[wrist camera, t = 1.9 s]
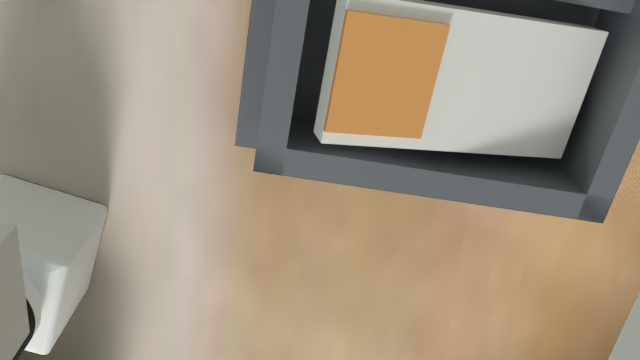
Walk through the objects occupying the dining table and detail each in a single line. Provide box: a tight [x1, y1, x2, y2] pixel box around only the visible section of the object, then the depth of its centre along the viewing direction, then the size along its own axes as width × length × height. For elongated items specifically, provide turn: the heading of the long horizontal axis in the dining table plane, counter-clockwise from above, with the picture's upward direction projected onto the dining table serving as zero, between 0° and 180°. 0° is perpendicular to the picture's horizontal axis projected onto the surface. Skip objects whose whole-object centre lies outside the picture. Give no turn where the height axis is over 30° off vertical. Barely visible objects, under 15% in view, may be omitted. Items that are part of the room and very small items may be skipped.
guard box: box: [235, 0, 640, 223], centre depth 30 cm, size 22×14×7 cm, turn 80°
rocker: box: [313, 0, 609, 159], centre depth 28 cm, size 14×7×2 cm, turn 80°
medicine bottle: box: [0, 174, 108, 360], centre depth 33 cm, size 7×7×12 cm
